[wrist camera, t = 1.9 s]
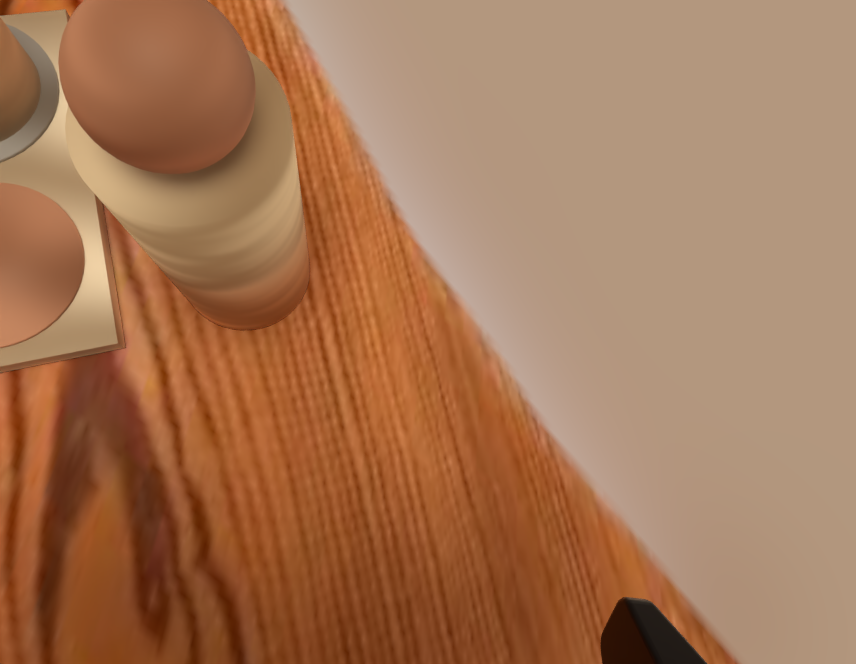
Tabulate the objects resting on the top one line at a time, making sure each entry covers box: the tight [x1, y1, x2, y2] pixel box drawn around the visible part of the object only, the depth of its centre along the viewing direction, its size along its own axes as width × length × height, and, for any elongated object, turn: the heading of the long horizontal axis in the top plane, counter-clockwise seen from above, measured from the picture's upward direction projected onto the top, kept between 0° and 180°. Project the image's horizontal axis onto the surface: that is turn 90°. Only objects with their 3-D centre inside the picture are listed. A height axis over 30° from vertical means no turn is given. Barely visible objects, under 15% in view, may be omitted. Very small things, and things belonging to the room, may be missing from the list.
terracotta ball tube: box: [58, 0, 310, 330], centre depth 16 cm, size 5×5×13 cm
